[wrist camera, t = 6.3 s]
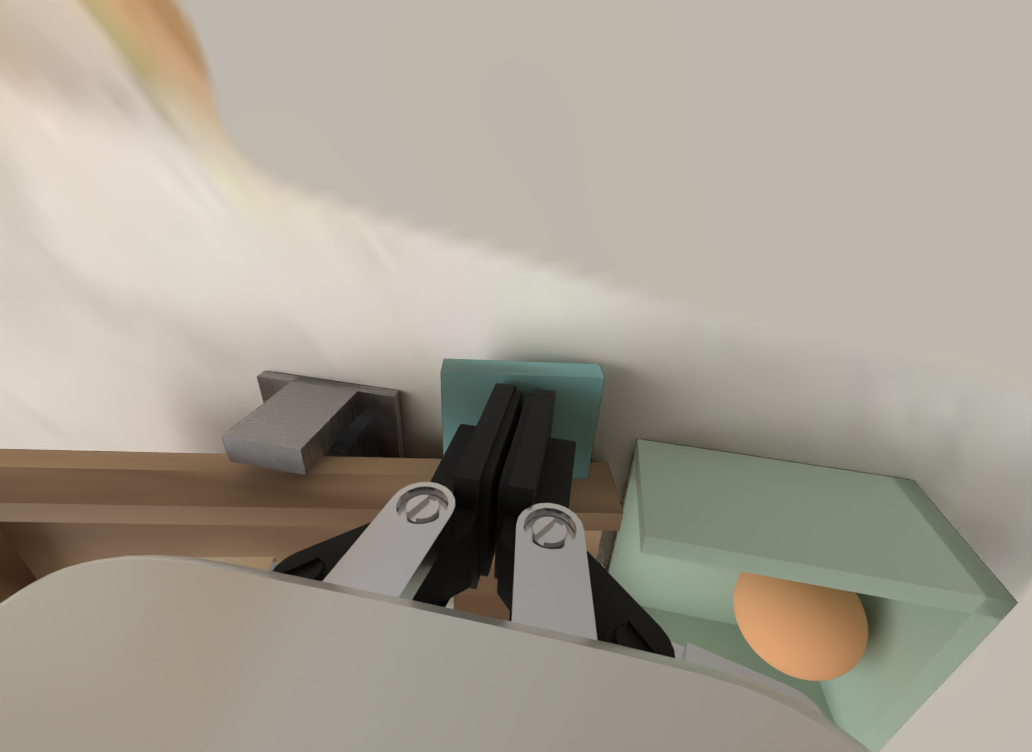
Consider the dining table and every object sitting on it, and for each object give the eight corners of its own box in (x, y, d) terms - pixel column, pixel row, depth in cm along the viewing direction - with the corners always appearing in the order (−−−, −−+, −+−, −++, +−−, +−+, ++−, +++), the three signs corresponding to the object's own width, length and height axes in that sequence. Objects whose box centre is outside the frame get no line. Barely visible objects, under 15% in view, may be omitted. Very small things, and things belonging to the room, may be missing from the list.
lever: (583, 589, 18) (593, 645, 16) (50, 584, 17) (-8, 644, 15) (626, 364, 13) (647, 407, 11) (-118, 339, 12) (-235, 380, 10)
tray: (811, 643, 17) (860, 771, 14) (600, 601, 18) (597, 709, 15) (913, 480, 13) (1017, 602, 10) (637, 438, 15) (645, 536, 11)
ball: (706, 592, 16) (804, 600, 16) (743, 700, 13) (864, 710, 13) (734, 523, 15) (844, 532, 15) (784, 628, 12) (923, 639, 12)
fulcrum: (414, 571, 20) (377, 653, 17) (308, 549, 21) (254, 625, 17) (398, 390, 15) (344, 457, 12) (264, 370, 16) (180, 429, 13)
